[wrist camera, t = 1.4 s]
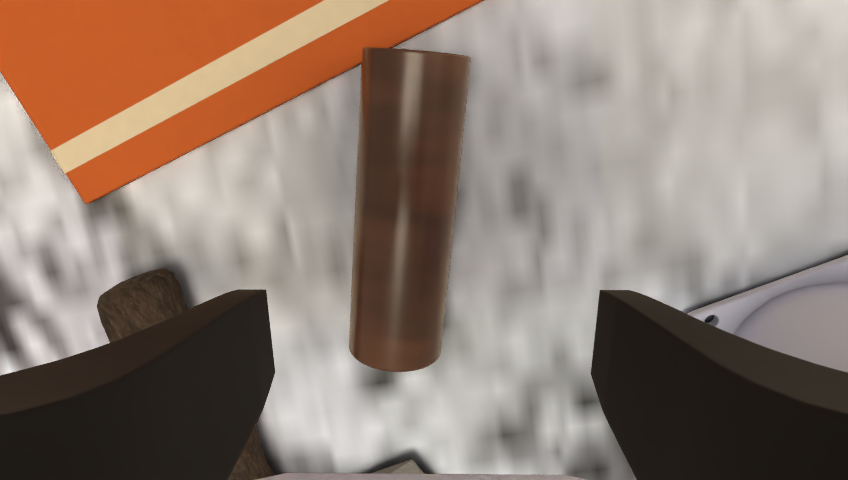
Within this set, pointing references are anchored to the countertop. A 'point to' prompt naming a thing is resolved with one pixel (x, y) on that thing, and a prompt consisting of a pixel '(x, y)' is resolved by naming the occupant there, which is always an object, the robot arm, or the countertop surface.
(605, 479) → the countertop surface
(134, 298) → the cleaver
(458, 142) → the rolling pin
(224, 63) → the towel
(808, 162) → the countertop surface
